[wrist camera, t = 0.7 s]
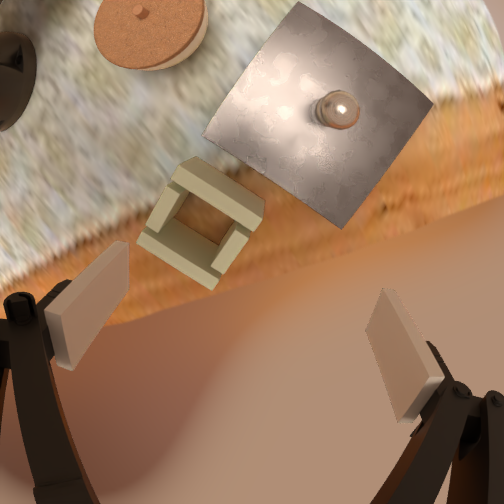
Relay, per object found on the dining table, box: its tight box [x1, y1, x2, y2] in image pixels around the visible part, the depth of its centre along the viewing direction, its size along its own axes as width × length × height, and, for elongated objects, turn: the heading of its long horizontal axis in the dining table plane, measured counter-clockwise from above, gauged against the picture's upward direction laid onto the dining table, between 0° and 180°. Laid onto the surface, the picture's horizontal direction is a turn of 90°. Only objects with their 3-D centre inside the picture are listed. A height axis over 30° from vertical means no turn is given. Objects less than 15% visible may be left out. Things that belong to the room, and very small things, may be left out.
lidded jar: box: [94, 0, 208, 71], centre depth 24 cm, size 11×11×9 cm
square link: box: [136, 157, 265, 291], centre depth 33 cm, size 9×9×7 cm
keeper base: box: [201, 1, 433, 230], centre depth 26 cm, size 18×18×11 cm
